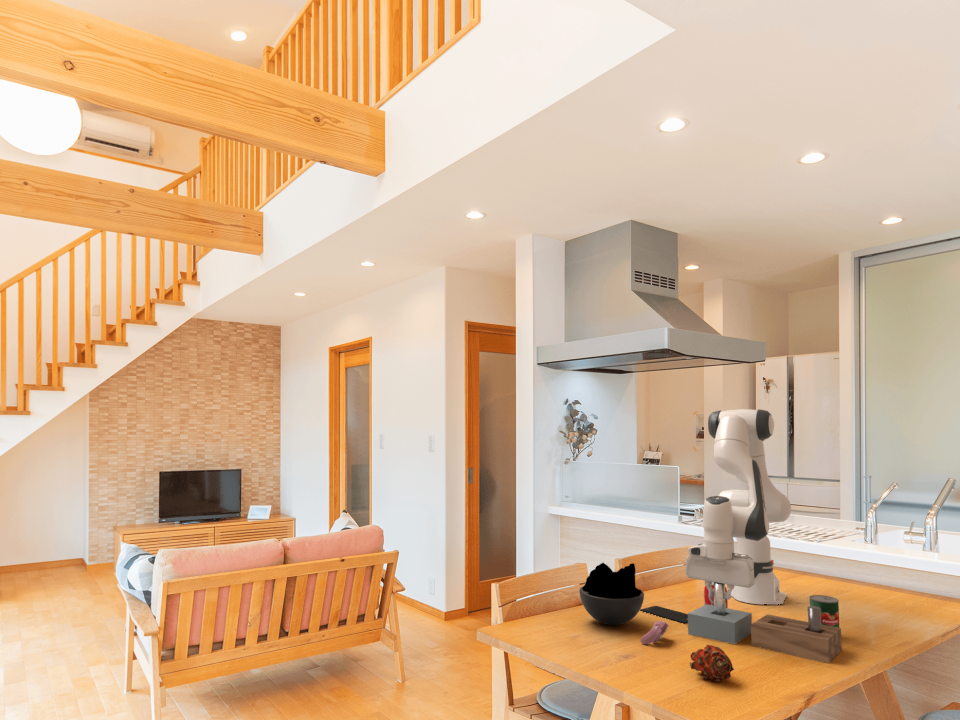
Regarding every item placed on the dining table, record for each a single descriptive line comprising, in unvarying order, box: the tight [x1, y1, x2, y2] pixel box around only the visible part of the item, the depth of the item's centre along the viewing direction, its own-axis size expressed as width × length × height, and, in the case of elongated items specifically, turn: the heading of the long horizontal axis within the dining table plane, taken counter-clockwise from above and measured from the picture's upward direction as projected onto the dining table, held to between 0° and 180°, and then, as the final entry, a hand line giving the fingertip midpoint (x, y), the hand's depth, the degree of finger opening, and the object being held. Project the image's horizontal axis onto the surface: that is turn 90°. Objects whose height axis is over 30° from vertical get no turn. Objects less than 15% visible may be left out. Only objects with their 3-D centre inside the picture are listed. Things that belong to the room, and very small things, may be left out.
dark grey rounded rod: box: [807, 605, 821, 633], centre depth 186 cm, size 3×3×12 cm
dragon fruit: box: [689, 644, 735, 683], centre depth 166 cm, size 8×8×12 cm
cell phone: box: [639, 605, 688, 625], centre depth 220 cm, size 9×18×1 cm, turn 38°
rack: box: [750, 614, 843, 664], centre depth 189 cm, size 14×20×6 cm
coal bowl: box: [579, 562, 645, 626], centre depth 210 cm, size 20×20×19 cm
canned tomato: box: [808, 594, 840, 628], centre depth 201 cm, size 8×8×11 cm
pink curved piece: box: [640, 620, 669, 645], centre depth 193 cm, size 10×5×7 cm, turn 149°
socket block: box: [687, 604, 753, 645], centre depth 201 cm, size 14×14×6 cm
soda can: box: [703, 582, 729, 609], centre depth 214 cm, size 7×7×12 cm
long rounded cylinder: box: [714, 582, 726, 616], centre depth 202 cm, size 3×3×16 cm
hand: (719, 597), depth 202 cm, fingers closed on long rounded cylinder, 3 cm apart
